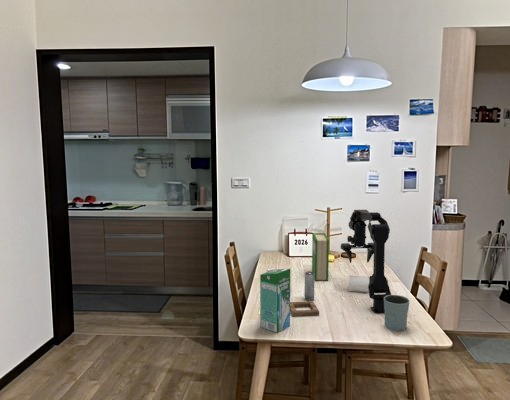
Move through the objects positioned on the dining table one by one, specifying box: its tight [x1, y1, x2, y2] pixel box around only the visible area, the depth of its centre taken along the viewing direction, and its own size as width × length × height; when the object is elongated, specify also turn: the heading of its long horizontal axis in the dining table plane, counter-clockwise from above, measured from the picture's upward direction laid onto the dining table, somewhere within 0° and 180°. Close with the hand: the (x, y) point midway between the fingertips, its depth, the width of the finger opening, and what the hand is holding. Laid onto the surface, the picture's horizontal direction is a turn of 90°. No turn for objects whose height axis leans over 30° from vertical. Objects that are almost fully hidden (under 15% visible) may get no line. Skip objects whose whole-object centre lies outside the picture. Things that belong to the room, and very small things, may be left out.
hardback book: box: [311, 232, 330, 282], centre depth 233 cm, size 18×7×24 cm, turn 177°
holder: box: [290, 300, 320, 318], centre depth 184 cm, size 12×12×2 cm
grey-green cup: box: [384, 294, 410, 332], centre depth 167 cm, size 10×10×12 cm
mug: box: [348, 275, 370, 293], centre depth 211 cm, size 12×10×8 cm
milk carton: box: [259, 267, 291, 334], centre depth 166 cm, size 9×9×25 cm
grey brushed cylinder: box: [304, 270, 316, 302], centre depth 198 cm, size 5×5×14 cm
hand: (359, 262), depth 210 cm, fingers open, 9 cm apart
